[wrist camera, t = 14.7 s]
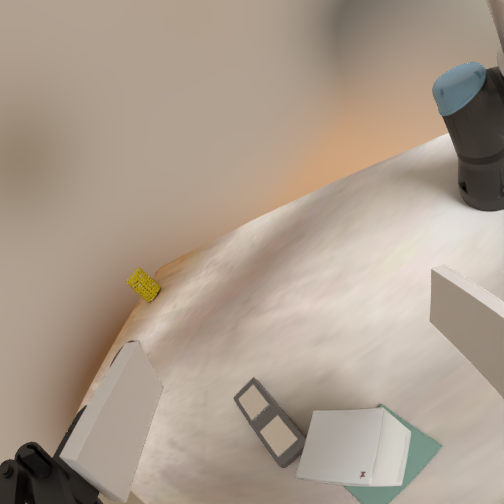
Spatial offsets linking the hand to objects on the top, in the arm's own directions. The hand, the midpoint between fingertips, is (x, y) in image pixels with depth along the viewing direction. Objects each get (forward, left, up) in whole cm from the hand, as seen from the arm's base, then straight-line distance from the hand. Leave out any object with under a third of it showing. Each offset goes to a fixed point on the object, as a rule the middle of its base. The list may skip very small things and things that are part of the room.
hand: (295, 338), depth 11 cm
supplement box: (+4, -2, -28) cm, 28 cm away
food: (+24, -115, -28) cm, 120 cm away
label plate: (+12, -21, -28) cm, 37 cm away
